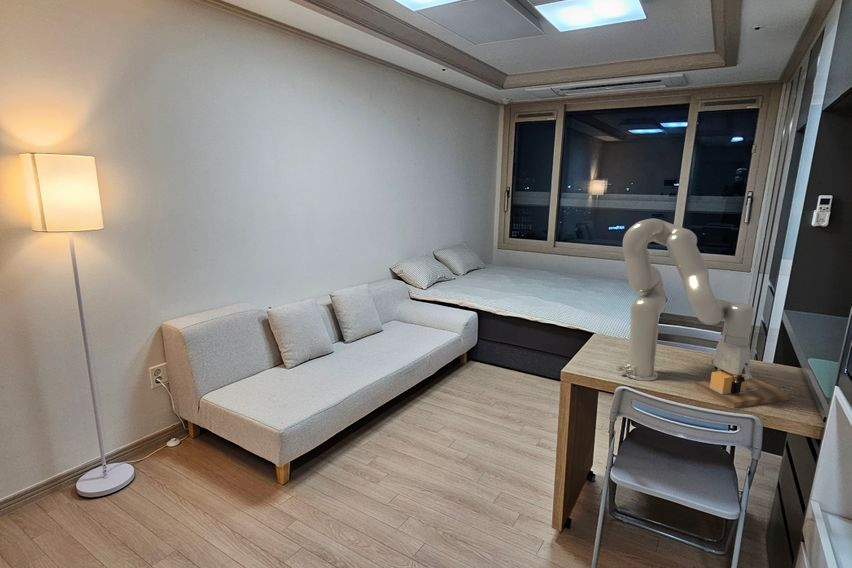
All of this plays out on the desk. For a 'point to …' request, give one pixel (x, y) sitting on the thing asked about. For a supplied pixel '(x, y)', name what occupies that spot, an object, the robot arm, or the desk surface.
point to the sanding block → (724, 382)
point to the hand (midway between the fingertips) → (727, 388)
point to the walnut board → (747, 394)
